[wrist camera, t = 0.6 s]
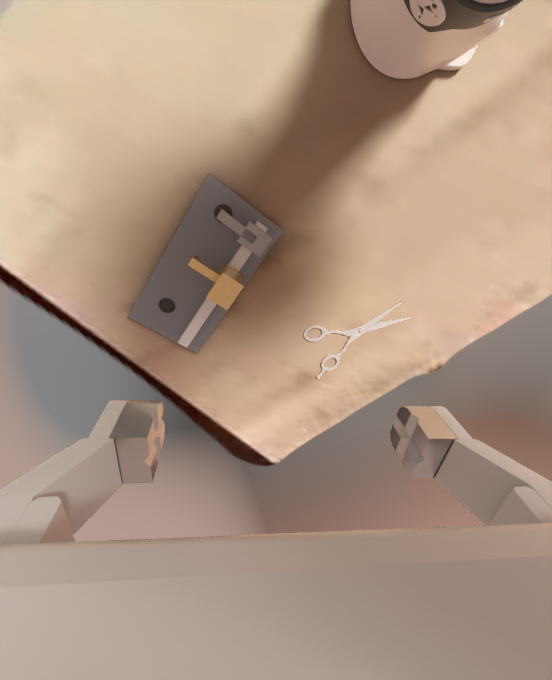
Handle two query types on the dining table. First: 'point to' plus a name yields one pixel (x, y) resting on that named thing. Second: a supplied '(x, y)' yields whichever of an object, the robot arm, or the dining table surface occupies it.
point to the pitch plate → (212, 249)
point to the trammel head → (220, 282)
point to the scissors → (351, 335)
